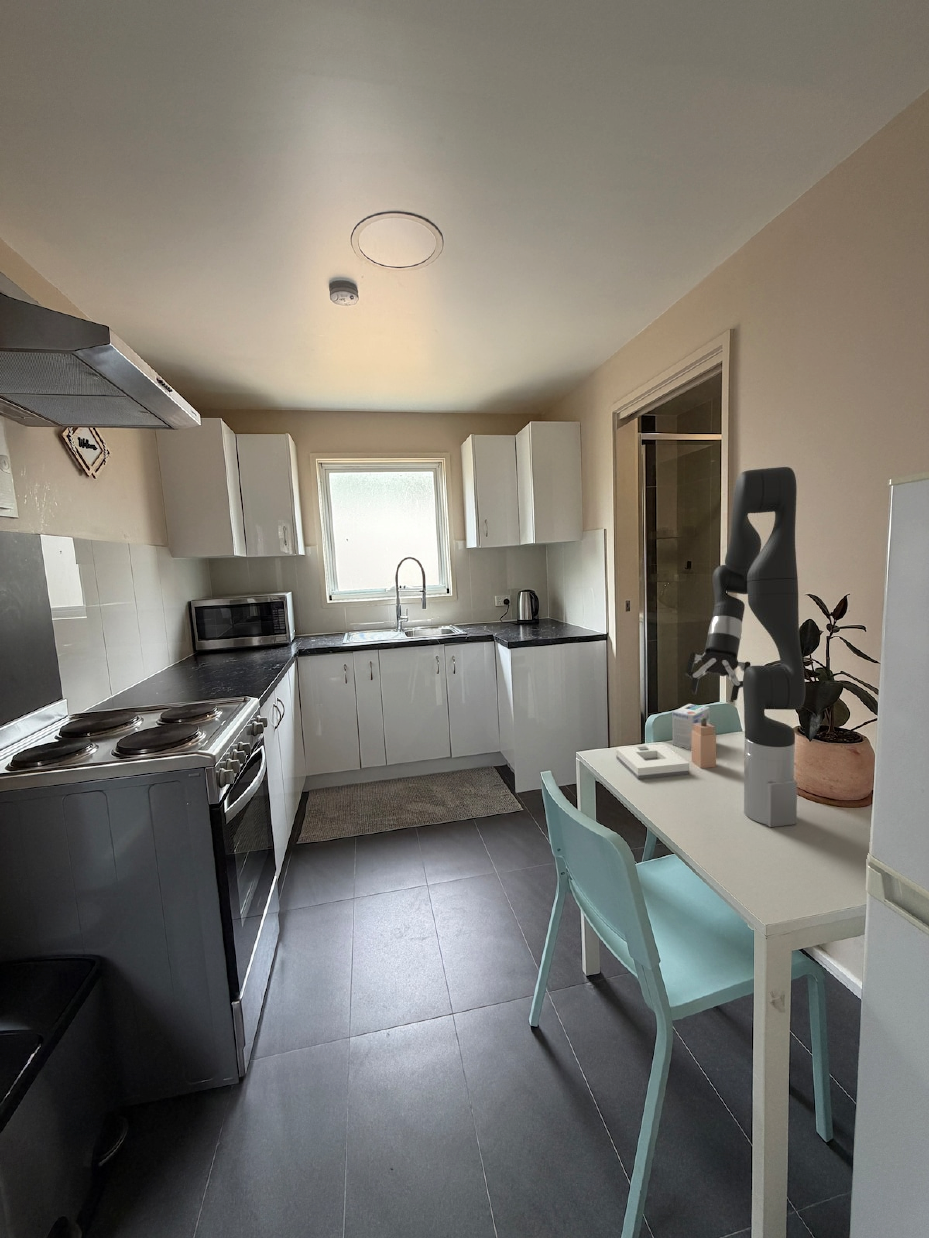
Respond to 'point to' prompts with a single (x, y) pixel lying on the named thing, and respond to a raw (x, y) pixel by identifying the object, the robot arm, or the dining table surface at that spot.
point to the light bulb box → (687, 723)
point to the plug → (703, 744)
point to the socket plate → (652, 761)
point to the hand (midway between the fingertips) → (712, 697)
